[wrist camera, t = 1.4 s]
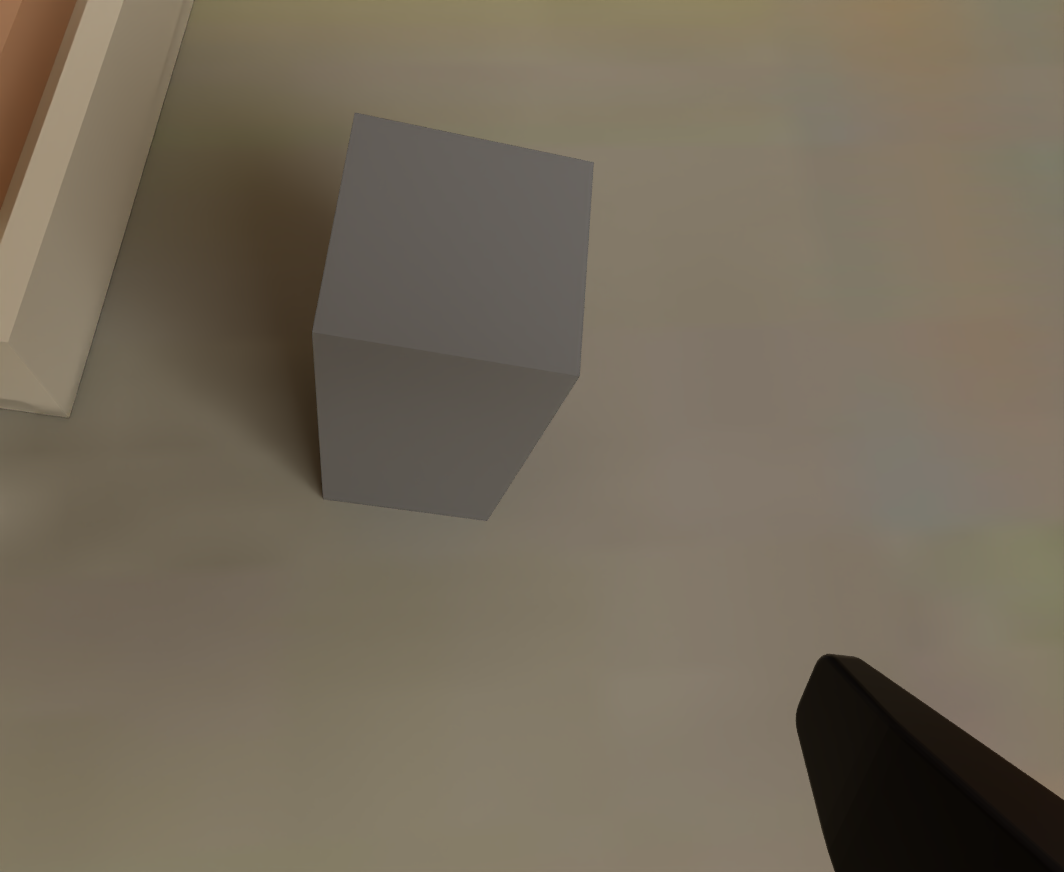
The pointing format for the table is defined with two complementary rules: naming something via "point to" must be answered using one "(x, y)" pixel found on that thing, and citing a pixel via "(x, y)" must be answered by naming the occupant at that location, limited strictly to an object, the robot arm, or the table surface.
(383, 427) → the plug
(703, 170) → the table surface
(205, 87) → the table surface
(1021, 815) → the robot arm
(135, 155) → the box
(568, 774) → the table surface
